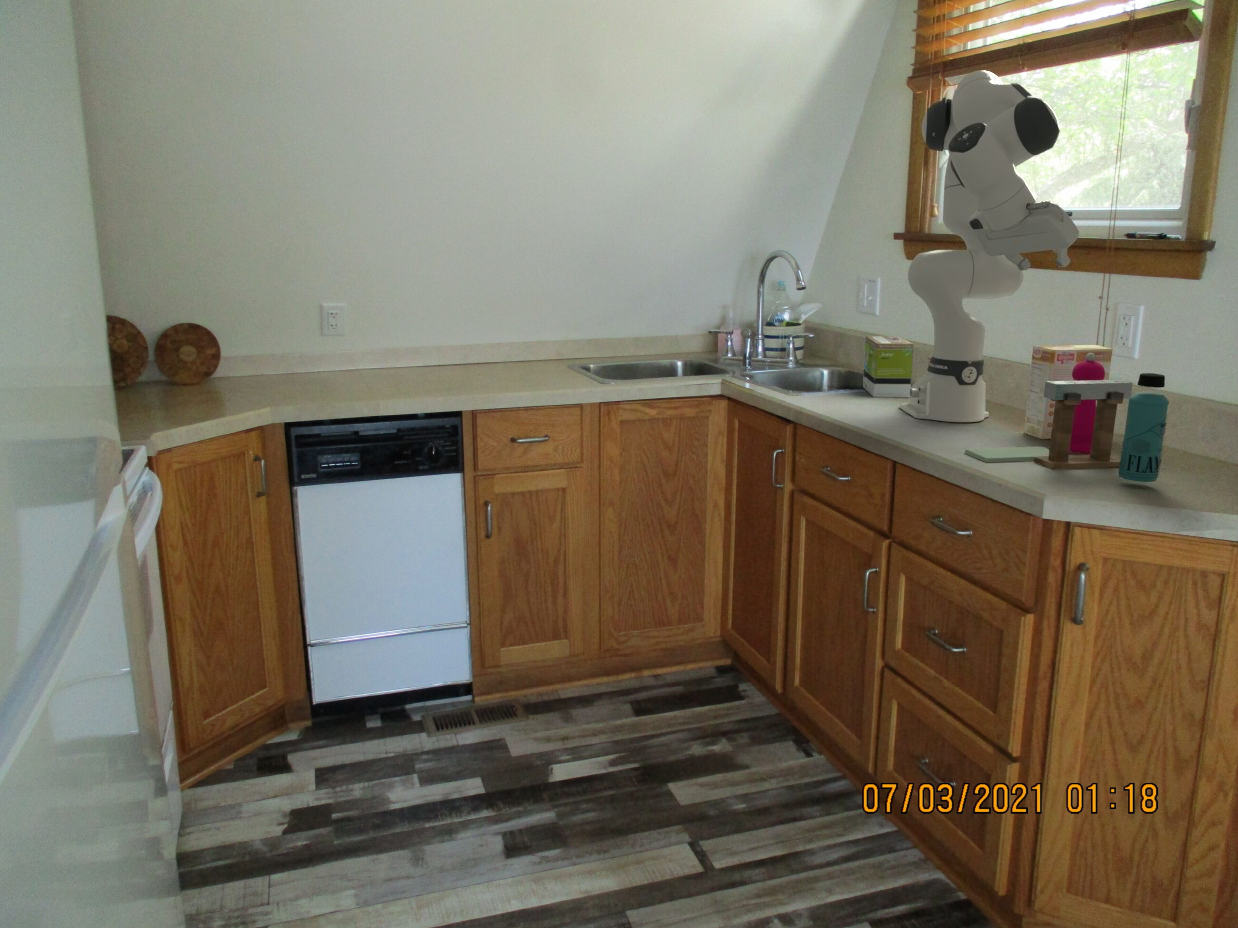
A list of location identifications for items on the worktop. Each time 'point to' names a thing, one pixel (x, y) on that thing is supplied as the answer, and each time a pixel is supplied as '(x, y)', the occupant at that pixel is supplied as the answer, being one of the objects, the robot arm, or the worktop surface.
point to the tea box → (888, 366)
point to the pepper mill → (1085, 406)
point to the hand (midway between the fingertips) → (1044, 266)
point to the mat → (1008, 454)
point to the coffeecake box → (1055, 367)
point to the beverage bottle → (1144, 431)
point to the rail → (1086, 389)
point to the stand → (1099, 440)
